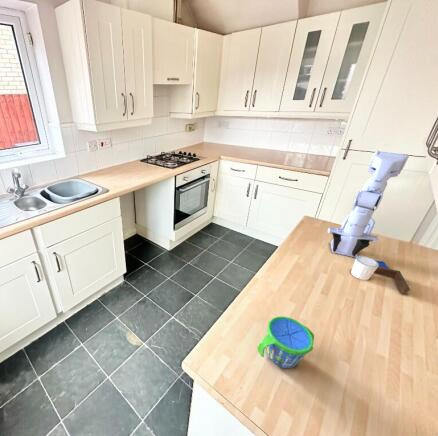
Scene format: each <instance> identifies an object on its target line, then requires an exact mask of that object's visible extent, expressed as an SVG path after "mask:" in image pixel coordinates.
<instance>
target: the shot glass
mask: <svg viewBox="0 0 438 436" xmlns="http://www.w3.org/2000/svg"><path fill="white" fill-rule="evenodd" d="M377 261H378V260H376V261H375V259H373V258H372V257H368V256H366V255H365V256H364V255H358V257H356V258H355V260H354V263H353V265H352V268H351V275H352V276H353V277H355V278H357V279H359V280H362V281H368V280H370V278H371V277H372V276H373V274H375V273H374V272H375V270H376V269H377V268H378V266H379V264H378V262H377Z"/></svg>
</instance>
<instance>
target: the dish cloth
mask: <svg viewBox="0 0 438 436" xmlns="http://www.w3.org/2000/svg"><path fill="white" fill-rule="evenodd" d="M374 260H375V259H374ZM375 261H377V262H378V264H379V266H380V267H384V268H389V267H388V265H387V264H386V263H385V261H382V260H375Z"/></svg>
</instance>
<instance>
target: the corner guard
mask: <svg viewBox="0 0 438 436" xmlns="http://www.w3.org/2000/svg"><path fill="white" fill-rule="evenodd" d="M373 274H375V275H380V276H384V277H389V278H392V279H393V280H394V282H395V284H396V286H397V288H398V290H399V291H400V294H401V295H404V296H406V295H407V294H408V293H409V292H410V290H411V287H410V286H409V284H408V283H407V281H406V280H405V278H404V276H403V274H402V272H401V271H400V270H397V269H393V268H390V267H388V268H384V267H380V266H378V268H377V269H376V270H375V272H374V273H373Z"/></svg>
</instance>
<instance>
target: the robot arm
mask: <svg viewBox="0 0 438 436" xmlns="http://www.w3.org/2000/svg"><path fill="white" fill-rule="evenodd" d="M409 158H410V156H409V154H407V153H406V154H404V153H396V152H389V151H380V150H377V151H375V152H374V153H373V155H372V157H371V159H370V161H369V165H368V172H369V173H370V174H372V177H370V178H368V179H366V181H365V183H364V185H363V187H362V189H361V190H360V191H358V193H357V194H356V197H355V199H354V200H353V205H352V208H351V212H350V213H349V214H347V215H346V216H345V218H344V220H343V222H342V223H341V226H340V227H328V229H327V233H328V235H332V239H331V242H330V248H331V252H332V253H333V254H338V255H343V256H347V257H351V258H355V259H356V257H358V256H359V255H358V254H359V253H360V252H361V251H362V250H364V249H366V248H368V247H369V246H370V245H371V243H372V244H376V243H377V241H378V240H379V238H378V237H377V236H376V235H372V234H371V233H372V231H373V229H374V227H375V224H376V220H375V219H374V218H373V217H372V216H373V214H374V213H375V211H376V210H377V209H378V208H379V206H380V204H381V202H382V199H383V197H384V192H385V190H386V188H387V186H388V180H390V179H391V178H396V177H398V176H399V175H400V174H401V173H402V171H403V169H404V167H405V165H406V163H407V162H408V159H409ZM370 242H371V243H370Z"/></svg>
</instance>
